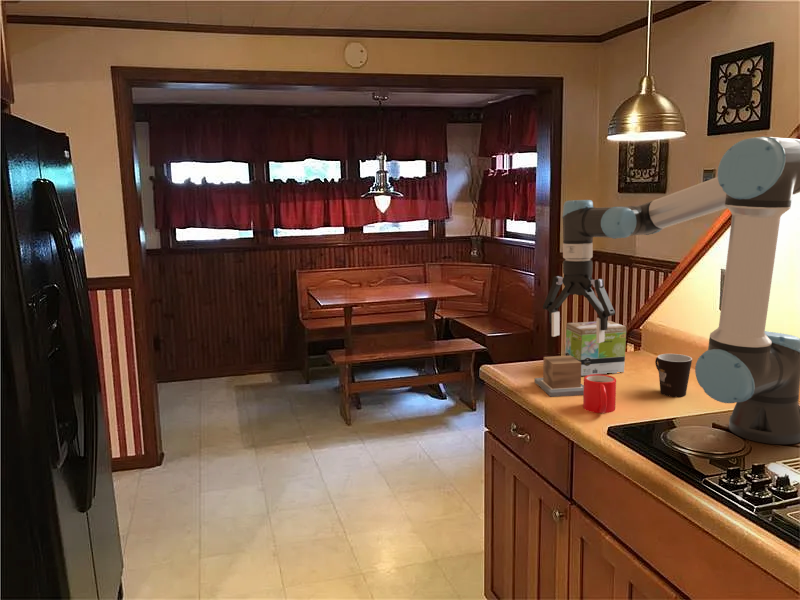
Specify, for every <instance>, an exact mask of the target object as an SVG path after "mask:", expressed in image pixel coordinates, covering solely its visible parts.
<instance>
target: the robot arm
mask: <svg viewBox="0 0 800 600" xmlns="http://www.w3.org/2000/svg"><path fill="white" fill-rule="evenodd" d="M798 193H800V139H799V138H792V137H791V138H790V137H776V136H775V137H773V136H757V137H756V136H755V137H748V138H744V139H742V140H739V141H738V142H736V143H734V144H733V145H732V146H731V147H730V148H728V149H727V150H726V152H725V153H724V154H723V155H722V157H721V159H720V161H719V164H718V167H717V176H716V177H713V178H710V179H708V180H706V181H705V180H704V181H703V182H699V183H698V184H697V183H696V184H695V185H692V186H689V187H686V188H683V189H681V190H677V191H675V192H672V193H670V194H666V195H664V196H661V197H659V198H656V199H653V200H651V201H647V202H645V203H643V204H639V205H629V206H628V205H627V206H624V205H623V206H606V207H602V206H601V207H594V202H593V200H591V199H576V200H574V199H573V200H565V201H564V203H563V207H562V208H563V209H562V239H563V240H562V258H563V259H564V260H563V261H562V274H563V277H562V276H561V275H557V276H553V278H552V284H551V287H550V288H549V291H548V294H547V296H546V298H545V301H544V303H543V305H542V309H543V310H546V311H548V313H549V314H548V315H549V316H548V317H549V321H548V322H549V324H551V337H553V338H554V337H557V336H560V334H561V333H560V330H561V329H560V323H561V322H560V321H561V317H560V316H561V315H560V311H559V308H560V306H562V304H563V303H564V302H565V301H566V300H567V298H568V297H569V296H570V295H576V296H583V297H584V298H586V300H587V302H588V303H589V304H590V306H591V307H592V308H593V309H594V311H595V312H596V314H597V316H598V317H596V321H597V333H596V343H601V342H604V341H605V330H607V322H608V321H609V320H608V319H609V317H611V316H614V315H615V314H616V311H615V309H614V307H613V305H612V302H611V300H610V297H609V296H608V293H607V291H606V289H605V282H604V279H603V278H597V279H593V277H592V276H593V267H594V265H593V264H594V263H593V260H592V258H593V256H594V255H593V254H594V253H593V252H594V251H593V244H594V243H593V238H607V239H608V238H609V239H613V240H616V239H625V238H629V237H631V236H640V235H641V236H643V235H644V236H648V235H653V234H656V233H659V232H661V231H662V230H663V229H665V228H669V227H671V226H675V225H678V224H682V223H685V222H688V221H690V220H694V219H697V218H700V217H703V216H704V217H705V216H706V215H707V216H708V215H710V214H713V213H717V212H719V211H722V210H727V209H728V211H730V213H731V220H730V231H729V239H728V247H727V256H726V265H725V272H724V281H723V289H722V290H723V291H722V299H721V304H720V313H719V323H718V327H717V328H716V329H714V330H713V331H712V332H710V334H709V341H708V346H707V347H708V348H707V350H705V351H704V352H703V353H702V354H700V355H699V357H698V358H697V361H696V363H695V369H694V372H695V378H696V381H697V383H698V385H699V387H700V388H702V390H703V391H704V393H705V394H706V395H708V397H709V398H711V399H712V400H714V401H716V402H719V403H723V404H735V405H734V407H733V410H732V412H731V415H730V416H729V420H728V422H729V423H728V430H729V431H730V432H732V434H734V435H736V436H738V437H740V438H742V439H745V440H749V441H753V442H756V443H757V442H758V443H763V444H770V445H794V444H795V445H796V444H798V443H800V405H799V398H800V337H798V336H795V335H792V334H787V333H781V332H774V331H768V330H766V326H767V325H766V324H767V318H768V311H769V304H770V303H769V302H770V296H771V288H772V282H773V281H772V280H773V274H774V268H775V267H774V265H775V259H776V253H777V252H776V251H777V245H778V237H779V230H780V222H781V217H782V216H783V215H784V214H785V213H786V212H788V211H789V210H791V206H792V200H793V195H797V194H798ZM562 285H563V286H564V288H562V289H561V286H562ZM592 287H593V288H594V290H595V291H594V290H593V289H592ZM560 289H561V291H560ZM559 291H560V293H559ZM595 292H596V294H595ZM558 293H559V295H558ZM557 295H558V297H557ZM596 295H597V296H596Z"/></svg>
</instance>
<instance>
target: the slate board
mask: <svg viewBox="0 0 800 600" xmlns="http://www.w3.org/2000/svg"><path fill="white" fill-rule="evenodd" d="M534 383H535V384H536V385H537V384H538V385H539V386H540V387H541V388H540V387H539V386H538V385H537V386H538V387H539V388H540V389H541V390H542V391H544V392H545V393H546V394H547V395H548V396H549V397H553V398H554V397H567V396H568V397H570V396H583V393H584V384H582V383H581V387H575V388H559V389H552V388H551V387H550V386H549V385H548V384H547V383H545V382H544V381H543V377H535V378H534Z"/></svg>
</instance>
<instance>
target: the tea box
mask: <svg viewBox="0 0 800 600" xmlns="http://www.w3.org/2000/svg"><path fill="white" fill-rule="evenodd" d="M596 333H597V320H596V321H595V320H594V321H583V322H581V321H580V322H567V323H566V329H565V350H564V351H565V353H564V354H565V355H564V356H572V357H574V358H575V359H577V360H578V361H580V362H581V377H583V376H584V377H585V376H587V375H592V374H602V375H608V374H607V373H612V374H618V373H617V372H623V373H625V362H626V343H627V342H626V341H627V340H626V339H627V326H626V325H624V324H623V325H622V324H620V323H617V322H614V321H611V320H608V322H607V330H605V341H604V342H601V343H596Z"/></svg>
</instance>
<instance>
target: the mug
mask: <svg viewBox="0 0 800 600" xmlns="http://www.w3.org/2000/svg"><path fill="white" fill-rule="evenodd" d="M583 385H584V393H583V395H582V396H583V399H582V400H583V401H582V402H583V404H582V405H583V406H582V407H583V409H584V410H585V411H587V412H590V413H597V414H609V413H614V412H615V411H616V400H617V399H616V398H617V378H615V377H614V376H612V375H610V374H609V375H608V374H592V375H585V376H584V377H583Z"/></svg>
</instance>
